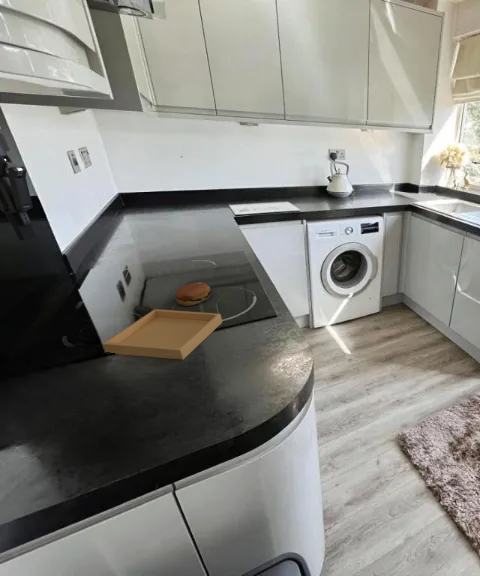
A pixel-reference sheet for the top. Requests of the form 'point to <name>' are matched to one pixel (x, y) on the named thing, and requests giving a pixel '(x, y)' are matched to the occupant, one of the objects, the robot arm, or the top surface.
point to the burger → (193, 294)
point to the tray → (164, 334)
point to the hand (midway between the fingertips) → (28, 238)
